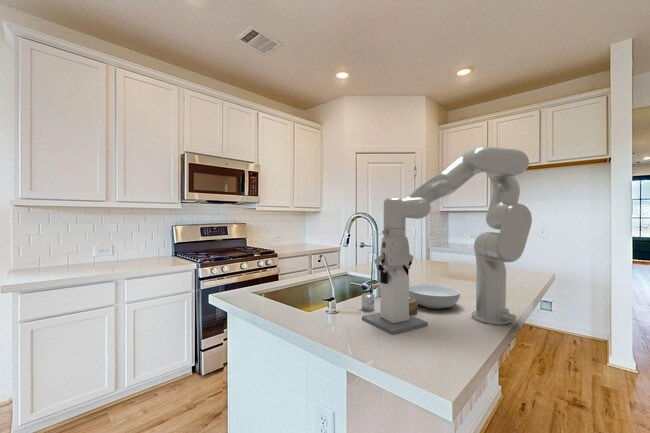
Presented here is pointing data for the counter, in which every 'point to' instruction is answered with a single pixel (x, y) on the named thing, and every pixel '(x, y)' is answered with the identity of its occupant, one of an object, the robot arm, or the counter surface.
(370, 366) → the counter surface
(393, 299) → the milk carton
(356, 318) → the counter surface
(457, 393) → the counter surface
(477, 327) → the counter surface
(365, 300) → the glass jar
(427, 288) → the serving bowl
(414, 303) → the walnut block
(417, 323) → the plate
